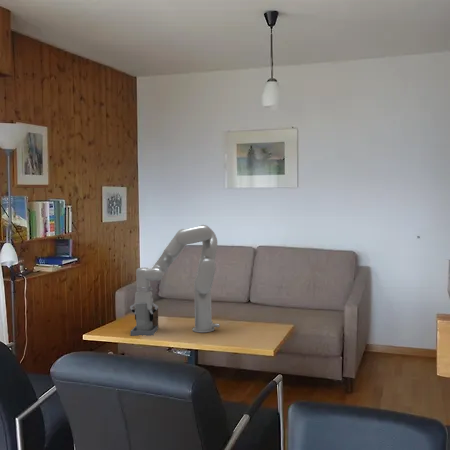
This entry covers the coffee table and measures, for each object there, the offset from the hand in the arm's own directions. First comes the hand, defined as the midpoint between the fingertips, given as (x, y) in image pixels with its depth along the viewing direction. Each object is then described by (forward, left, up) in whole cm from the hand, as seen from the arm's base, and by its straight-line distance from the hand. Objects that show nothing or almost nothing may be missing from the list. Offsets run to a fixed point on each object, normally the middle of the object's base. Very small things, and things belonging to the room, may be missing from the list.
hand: (144, 320), depth 307 cm
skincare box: (0, 0, -6) cm, 6 cm away
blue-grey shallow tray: (0, 0, -7) cm, 7 cm away
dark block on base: (0, -9, -7) cm, 11 cm away
